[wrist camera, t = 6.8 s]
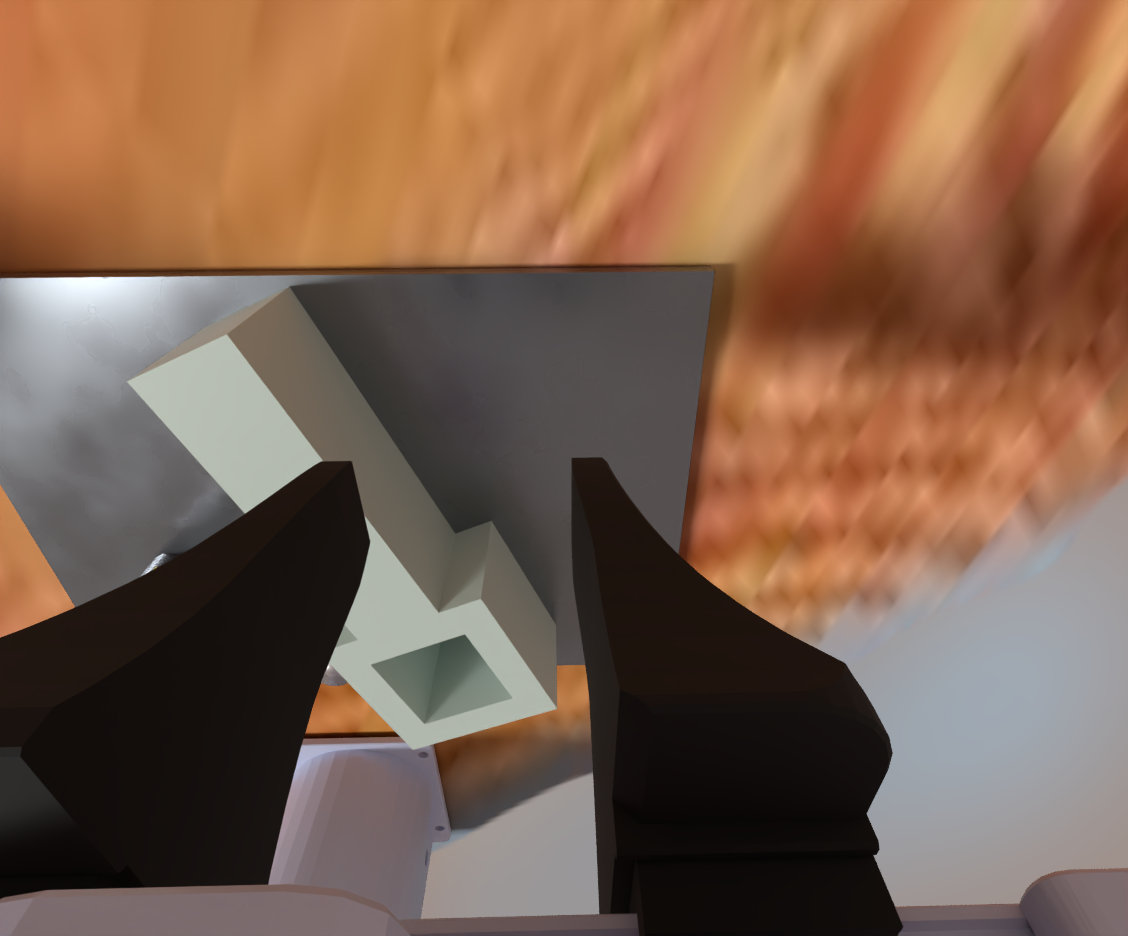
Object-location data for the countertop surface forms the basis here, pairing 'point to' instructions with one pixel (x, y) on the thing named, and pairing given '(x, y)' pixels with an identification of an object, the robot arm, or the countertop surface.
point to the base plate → (389, 385)
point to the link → (393, 517)
